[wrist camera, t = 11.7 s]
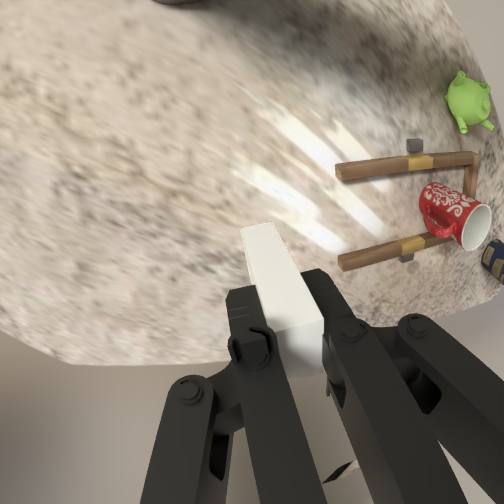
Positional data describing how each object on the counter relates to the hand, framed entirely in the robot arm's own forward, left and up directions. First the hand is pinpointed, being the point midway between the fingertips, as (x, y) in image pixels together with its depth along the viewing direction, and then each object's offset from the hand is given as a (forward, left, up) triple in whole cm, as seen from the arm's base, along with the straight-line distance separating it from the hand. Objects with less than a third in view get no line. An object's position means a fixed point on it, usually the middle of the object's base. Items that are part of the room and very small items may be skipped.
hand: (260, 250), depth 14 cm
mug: (+15, +37, -30) cm, 50 cm away
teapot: (-5, +45, -30) cm, 54 cm away
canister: (+35, +68, -30) cm, 82 cm away
